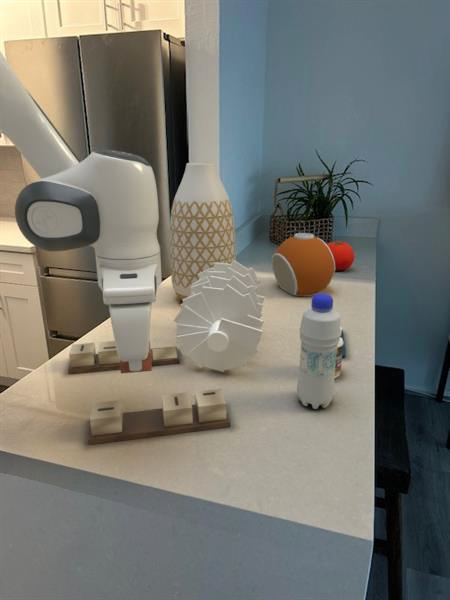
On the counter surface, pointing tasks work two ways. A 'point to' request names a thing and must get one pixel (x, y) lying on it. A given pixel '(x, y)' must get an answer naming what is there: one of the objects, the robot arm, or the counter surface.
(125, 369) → the s tile
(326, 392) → the bottle
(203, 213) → the vase
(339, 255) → the tomato
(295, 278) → the alarm clock
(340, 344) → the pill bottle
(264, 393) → the counter surface
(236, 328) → the spiral staircase
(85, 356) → the back rack
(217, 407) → the front rack
